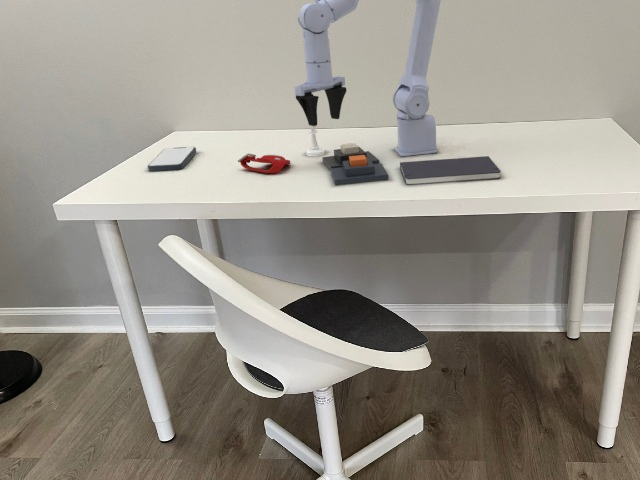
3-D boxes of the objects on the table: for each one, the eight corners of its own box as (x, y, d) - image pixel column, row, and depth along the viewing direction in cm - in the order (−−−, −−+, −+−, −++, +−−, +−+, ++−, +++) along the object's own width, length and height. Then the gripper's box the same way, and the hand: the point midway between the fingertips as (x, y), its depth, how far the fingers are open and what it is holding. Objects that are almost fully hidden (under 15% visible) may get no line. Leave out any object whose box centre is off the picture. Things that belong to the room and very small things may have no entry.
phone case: (183, 170, 154) (198, 151, 168) (181, 164, 154) (197, 146, 167) (147, 172, 154) (165, 153, 168) (145, 166, 153) (164, 147, 167)
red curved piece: (285, 156, 157) (296, 155, 148) (285, 174, 158) (295, 174, 149) (236, 152, 152) (244, 151, 143) (236, 170, 152) (244, 171, 144)
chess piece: (321, 156, 160) (317, 116, 155) (303, 156, 161) (298, 116, 156) (327, 151, 164) (323, 112, 159) (309, 150, 165) (305, 112, 160)
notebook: (488, 162, 149) (400, 168, 147) (488, 155, 148) (399, 162, 147) (501, 178, 138) (405, 185, 136) (501, 171, 137) (405, 178, 136)
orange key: (365, 162, 143) (364, 154, 143) (367, 166, 140) (366, 159, 140) (349, 163, 143) (348, 156, 142) (351, 168, 140) (350, 160, 139)
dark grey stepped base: (369, 156, 158) (368, 143, 156) (379, 165, 150) (378, 152, 149) (322, 162, 155) (321, 149, 153) (331, 172, 147) (329, 159, 146)
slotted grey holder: (381, 169, 148) (380, 155, 146) (388, 180, 140) (387, 166, 138) (331, 174, 146) (330, 160, 144) (335, 185, 138) (333, 171, 137)
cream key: (355, 150, 153) (354, 143, 152) (359, 153, 150) (358, 146, 149) (340, 151, 152) (340, 144, 151) (344, 155, 149) (343, 148, 148)
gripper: (327, 56, 149) (333, 114, 156) (282, 65, 139) (290, 126, 146) (349, 57, 145) (354, 117, 152) (304, 67, 135) (311, 129, 142)
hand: (324, 121), depth 149 cm, fingers open, 7 cm apart
